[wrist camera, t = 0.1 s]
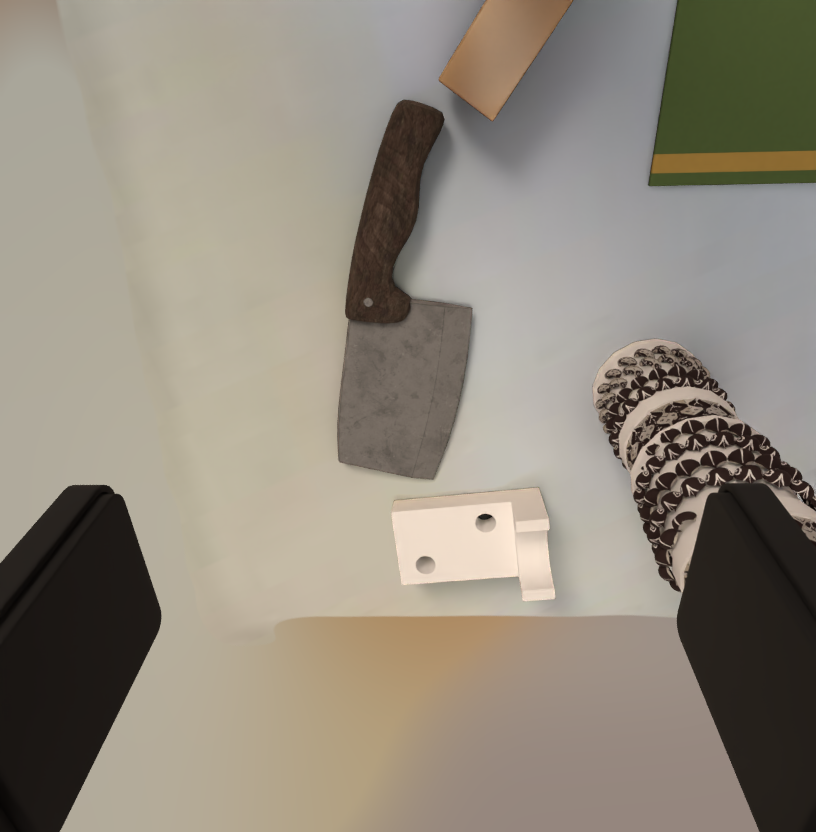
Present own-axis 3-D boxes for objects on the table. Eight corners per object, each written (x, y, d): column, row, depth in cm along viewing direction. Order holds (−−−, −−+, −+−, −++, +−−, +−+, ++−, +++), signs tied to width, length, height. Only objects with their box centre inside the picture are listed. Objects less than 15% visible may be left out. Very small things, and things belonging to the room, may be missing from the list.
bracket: (537, 483, 56) (548, 518, 49) (543, 554, 58) (555, 599, 50) (395, 496, 57) (385, 532, 50) (405, 565, 59) (397, 610, 52)
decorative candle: (631, 455, 53) (763, 731, 31) (563, 386, 50) (656, 638, 28) (728, 389, 49) (952, 649, 28) (661, 310, 46) (853, 532, 25)
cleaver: (362, 92, 40) (358, 94, 38) (512, 113, 40) (516, 116, 38) (335, 464, 55) (332, 478, 53) (444, 477, 55) (444, 492, 53)
